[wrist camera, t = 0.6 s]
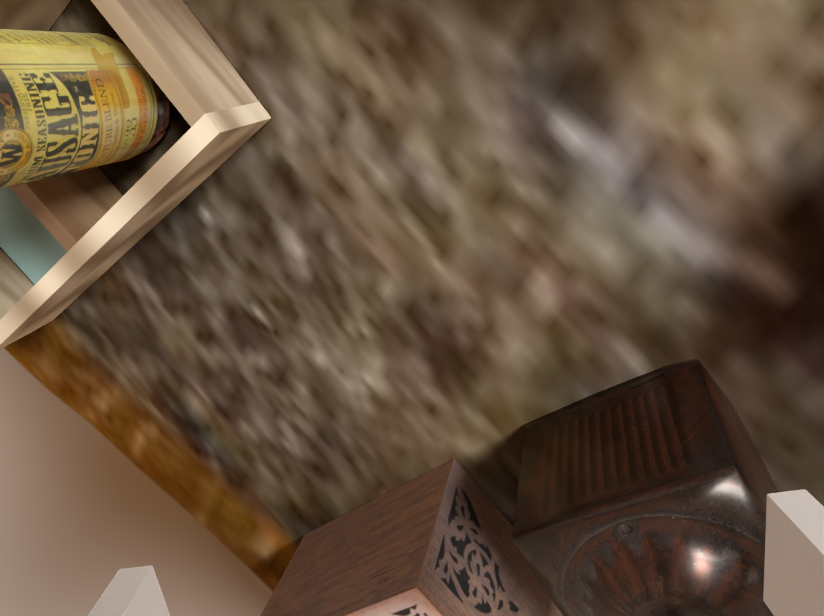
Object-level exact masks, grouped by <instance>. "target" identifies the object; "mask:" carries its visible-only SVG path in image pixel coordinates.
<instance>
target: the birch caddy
mask: <svg viewBox="0 0 824 616" xmlns="http://www.w3.org/2000/svg"><path fill="white" fill-rule="evenodd" d="M70 1H71V0H0V29H13V30H33V31H49V30H50V28H51V27H52V26H53V24H54V23H55V22H56V20H57V19H58V17H59V16H60V15H61V13H62V12H63V11H64V9H65V8H66V6H67V5H68V4H69V2H70ZM91 1H92V2H93V4H94V5H95V6H96V8H97V9H98V10H99V11H100V13H101V14H102V15H103V16H104V18H105V19H106V20H107V21H108V23H109V24H110V25H111V26H112V28H113V29H114V30H115V32H116V33H117V34H118V35H119V37H120V38H121V39H122V40H123V42H124V43H125V44H126V45H127V47H128V48H129V49H130V50H131V52H132V53H133V54H134V55H135V57H136V58H137V59H138V61H139V62H140V63H141V64H142V66H143V67H144V68H145V69H146V71H147V72H148V73H149V74H150V76H151V77H152V78H153V79H154V81H155V82H156V83H157V85H158V86H159V87H160V88H161V90H162V91H163V92H164V93H165V95H166V96H167V97H168V98H169V100H170V101H171V102H172V103H173V105H174V106H175V107H176V108H177V110H178V111H179V112H180V114H181V115H182V116H183V117H184V119H185V120H186V121H187V122H188V124H189V125H190V126H191V128H190V129H189V130H188V131H187V132H186V133H185V134H184V135H183V136H182V137H181V138H180V139H179V140H178V141H177V142H176V143H175V144H174V145H173V146H172V147H171V148H170V149H169V150H168V151H167V152H166V153H165V154H164V155H163V156H162V157H161V158H160V159H159V160H158V161H157V162H156V163H155V164H154V165H153V166H152V167H151V168H150V169H149V170H148V171H147V172H146V174H145V175H144V176H143V177H142V178H141V179H140V180H139V181H138V182H137V183H136V184H135V185H134V186H133V187H132V188H131V189H130V190H129V191H128V192H127V193H126V194H125V195H124V196H123V195H122V194H121V193H120V192H119V191H118V189H117V188H116V187H115V186H114V185H113V184H112V182H111V181H110V180H109V179H108V178H107V176H106V175H105V174H104V173H103V172H102V171H101V169H100V168H99V167H98V166H97V167H93V168H88V169H84V170H79V171H75V172H71V173H67V174H64V175H60V176H56V177H51V178H45V179H39V180H35V181H32V182H28V183H24V184H20V185H14V186H8V187H4V188H0V247H1V248H2V249H3V250H4V251H5V252H6V253H7V255H8V256H9V257H10V258H11V259H12V260H13V261H14V262H15V263H16V264H17V266H18V267H19V268H20V269H21V270H22V271H23V272H24V273H25V274H26V275H27V276H28V278H29V279H30V280H31V281H32V282H33V283H34V284H35V285H33V284H32V283H31V282H30V280H29V279H28V278H27V277H26V276H25V275H24V274H23V273H22V272H21V271H20V270H19V268H18V267H17V266H16V265H15V264H14V263H13V262H12V261H11V260H10V259H9V258H8V256H7V255H6V254H5V253H4V252H3V251H2V250H1V249H0V349H2V348H4V347H5V346H7V345H9V344H11V343H13V342H15V341H16V340H18V339H20V338H22V337H24V336H26V335H27V334H29V333H31V332H33V331H35V330H36V329H38V328H40V327H42V326H44V325H46V324H47V323H49V322H51V321H53V320H54V319H55V318H56V317H57V316H58V315H59V314H60V313H61V312H63V311H64V310H65V309H66V308H67V307H68V306H69V305H70V304H71V303H72V302H73V301H74V300H76V299H77V298H78V297H79V296H80V295H81V294H82V293H83V292H84V291H85V290H86V289H87V288H88V287H90V286H91V285H92V284H93V283H94V282H95V281H96V280H97V279H98V278H99V277H100V276H101V275H103V274H104V273H105V272H106V271H107V270H108V269H109V268H110V267H111V266H112V265H113V264H114V263H116V262H117V261H118V260H119V259H120V258H121V257H122V256H123V255H124V254H125V253H126V252H127V251H128V250H130V249H131V248H132V247H133V246H134V245H135V244H136V243H137V242H138V241H139V240H140V239H141V238H143V237H144V236H145V235H146V234H147V233H148V232H149V231H150V230H151V229H152V228H153V227H154V226H156V225H157V224H158V223H159V222H160V221H161V220H162V219H163V218H164V217H165V216H166V215H167V214H168V213H170V212H171V211H172V210H173V209H174V208H175V207H176V206H177V205H178V204H179V203H180V202H181V201H183V200H184V199H185V198H186V197H187V196H188V195H189V194H190V193H191V192H192V191H193V190H194V189H195V188H197V187H198V186H199V185H200V184H201V183H202V182H203V181H204V180H205V179H206V178H207V177H208V176H210V175H211V174H212V173H213V172H214V171H215V170H216V169H217V168H218V167H219V166H220V165H221V164H223V163H224V162H225V161H226V160H227V159H228V158H229V157H230V156H231V155H232V154H233V153H234V152H235V151H237V150H238V149H239V148H240V147H241V146H242V145H243V144H244V143H245V142H246V141H247V140H248V139H250V138H251V137H252V136H253V135H254V134H255V133H256V132H257V131H258V130H259V129H260V128H261V127H262V126H264V125H265V124H266V123H267V122H268V121H269V120H270V119H271V117H270V115H269V114H268V113H267V111H266V110H265V109H264V107H263V106H262V105H261V104H260V102H259V101H258V100H257V98H256V97H255V96H254V94H253V93H252V92H251V90H250V89H249V88H248V86H247V85H246V84H245V82H244V81H243V80H242V78H241V77H240V76H239V74H238V73H237V72H236V70H235V69H234V68H233V66H232V65H231V64H230V63H229V61H228V60H227V59H226V57H225V56H224V55H223V53H222V52H221V51H220V49H219V48H218V47H217V45H216V44H215V43H214V41H213V40H212V39H211V37H210V36H209V35H208V33H207V32H206V31H205V29H204V28H203V27H202V26H201V24H200V23H199V22H198V20H197V19H196V18H195V16H194V15H193V14H192V12H191V11H190V10H189V8H188V7H187V6H186V4H185V3H184V2H183V0H91Z"/></svg>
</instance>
